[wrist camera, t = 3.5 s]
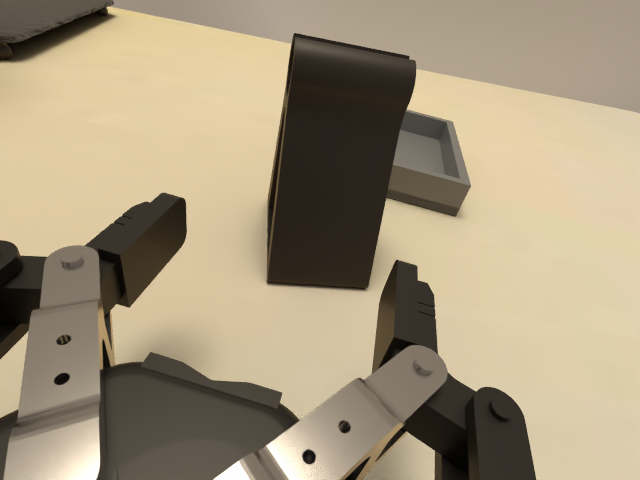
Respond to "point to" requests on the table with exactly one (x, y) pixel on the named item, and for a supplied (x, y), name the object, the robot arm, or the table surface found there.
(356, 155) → the phone stand
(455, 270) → the table surface
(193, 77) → the table surface
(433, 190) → the tray
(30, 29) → the serving board
